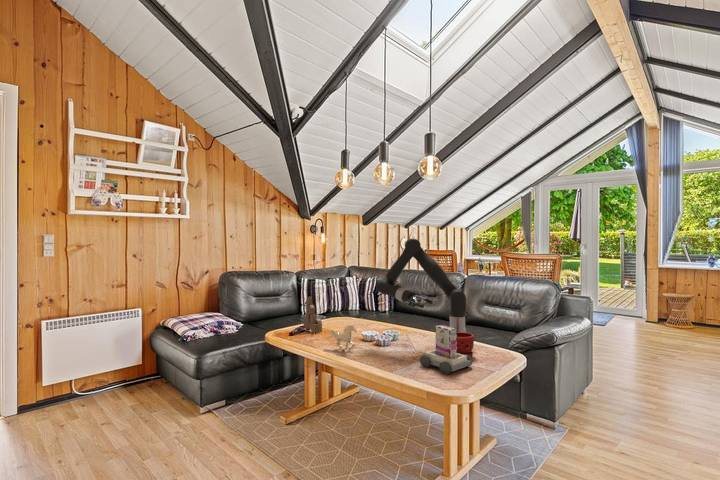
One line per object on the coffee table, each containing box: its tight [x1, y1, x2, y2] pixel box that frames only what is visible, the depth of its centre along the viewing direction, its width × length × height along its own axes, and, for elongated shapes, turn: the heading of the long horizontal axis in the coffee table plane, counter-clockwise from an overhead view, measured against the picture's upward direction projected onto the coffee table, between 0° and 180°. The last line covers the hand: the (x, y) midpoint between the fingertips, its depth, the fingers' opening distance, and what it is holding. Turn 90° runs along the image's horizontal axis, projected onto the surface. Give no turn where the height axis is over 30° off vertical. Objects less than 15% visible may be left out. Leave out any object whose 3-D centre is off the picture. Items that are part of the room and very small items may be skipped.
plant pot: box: [457, 332, 475, 358], centre depth 213 cm, size 13×13×12 cm
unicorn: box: [329, 323, 358, 351], centre depth 226 cm, size 20×4×17 cm, turn 57°
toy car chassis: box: [419, 348, 473, 375], centre depth 196 cm, size 18×20×6 cm
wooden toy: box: [302, 296, 323, 334], centre depth 271 cm, size 16×7×25 cm, turn 43°
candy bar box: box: [435, 324, 457, 359], centre depth 195 cm, size 11×5×16 cm, turn 29°
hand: (428, 304), depth 214 cm, fingers open, 8 cm apart
